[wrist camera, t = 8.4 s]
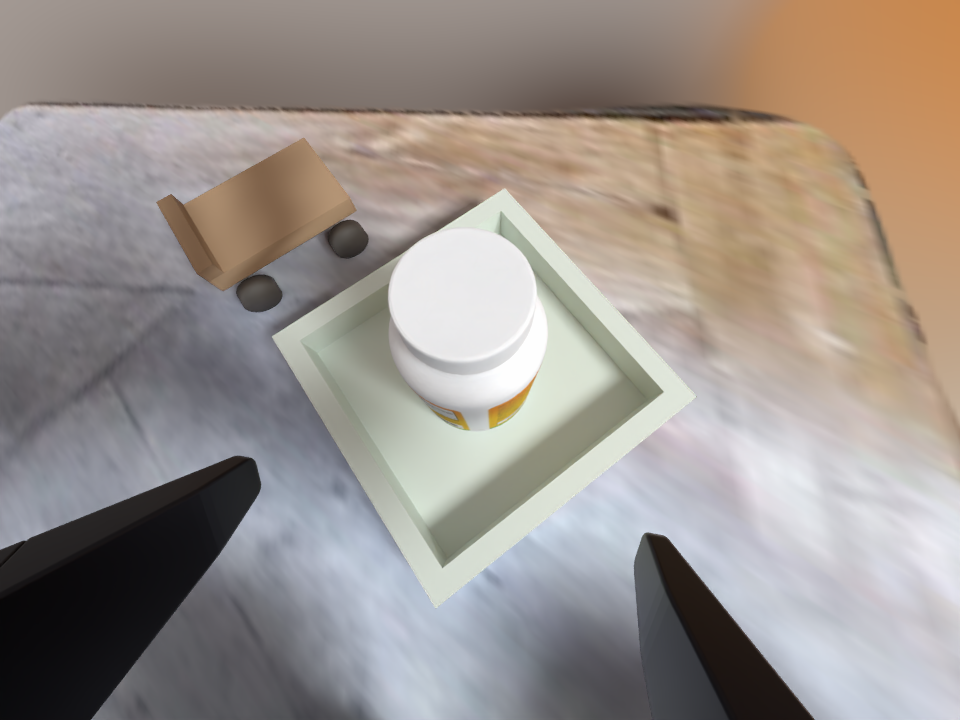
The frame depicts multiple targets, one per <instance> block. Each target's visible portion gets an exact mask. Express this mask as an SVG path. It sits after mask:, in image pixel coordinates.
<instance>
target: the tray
mask: <svg viewBox="0 0 960 720" xmlns="http://www.w3.org/2000/svg"><path fill="white" fill-rule="evenodd" d="M456 227H473V228H479V229H484V230H488V231H491V232H493V233H496V234H498V235H500V236H502V237H504V238H506V239H507V240H508V241H510V242H511V243H512V244H514V245H515V246H516V247H517V248H518V249H519V250H520V251H521V252H522V253H523V255H524V256H525V257H526V259H527V260H528V262H529V264H530V266H531V268H532V271H533V274H534V277H535V281H536V287H537V295H538V297H539V298H540V301H541V303H542V305H543V307H544V310H545V314H546V318H547V324H548V341H547V348H546V352H545V355H544V359H543V362H542V364H541V367H540V369H539V371H538V373H537V376H536V378H535V380H534V382H533V384H532V387H531V389H530V391H529V394H528V396H527V399H526V401H525V402H524V404H523V406H522V407H521V409H520V410H519V411H518V412H517V414H516V415H515V416H513V417H512V418H511V419H510V420H509V421H507V422H506V423H504V424H503V425H501V426H499V427H496V428H494V429H490V430H486V431H478V432H475V431H465V430H461V429H458V428H455V427H453V426H451V425H449V424H447V423H446V422H444V421H443V420H442V419H440V418H439V417H438V416H437V415H436V414H435V413H434V412H433V411H432V410H431V409H430V408H429V407H428V406H427V405H426V404H425V402H424V401H423V400H422V399H421V398H420V397H419V396H418V395H417V394H416V393H415V392H414V391H413V390H412V389H411V388H410V386H409V385H408V384H407V383H406V382H405V380H404V379H403V377H402V375H401V374H400V372H399V370H398V368H397V367H396V364H395V362H394V359H393V357H392V354H391V350H390V345H389V322H390V317H391V315H390V312H389V307H388V288H389V282H390V279H391V276H392V273H393V271H394V268H395V267H396V265H397V263H398V262H399V260H400V259H401V257H402V256H403V255H404V254H405V253H406V252H407V251H405V252H404V253H402V254H401V255H399V256H398V257H396V258H394V259H393V260H391V261H390V262H388V263H387V264H385V265H383V266H382V267H380V268H379V269H377V270H376V271H374V272H372V273H371V274H369V275H368V276H366V277H365V278H363V279H361V280H360V281H358V282H357V283H355V284H353V285H352V286H350V287H349V288H347V289H346V290H344V291H342V292H341V293H339V294H338V295H336V296H335V297H333V298H331V299H330V300H328V301H327V302H325V303H324V304H322V305H320V306H319V307H317V308H316V309H314V310H313V311H311V312H309V313H308V314H306V315H305V316H303V317H302V318H300V319H298V320H297V321H295V322H294V323H292V324H291V325H289V326H287V327H286V328H284V329H283V330H281V331H280V332H278V333H276V334H275V335H273V336H272V338H273V340H274V341H275V343H276V345H277V346H278V348H279V350H280V351H281V353H282V355H283V356H284V358H285V360H286V361H287V363H288V365H289V366H290V368H291V370H292V371H293V373H294V375H295V376H296V378H297V380H298V381H299V383H300V385H301V386H302V388H303V389H304V391H305V393H306V394H307V396H308V398H309V399H310V401H311V403H312V404H313V406H314V408H315V409H316V411H317V413H318V414H319V416H320V418H321V419H322V421H323V423H324V424H325V426H326V428H327V429H328V431H329V433H330V434H331V436H332V438H333V439H334V441H335V443H336V444H337V446H338V448H339V449H340V451H341V452H342V454H343V456H344V457H345V459H346V461H347V462H348V464H349V466H350V467H351V469H352V471H353V472H354V474H355V476H356V477H357V479H358V481H359V482H360V484H361V486H362V487H363V489H364V491H365V492H366V494H367V496H368V497H369V499H370V501H371V502H372V504H373V506H374V507H375V509H376V511H377V512H378V514H379V515H380V517H381V519H382V520H383V522H384V524H385V525H386V527H387V529H388V530H389V532H390V534H391V535H392V537H393V539H394V540H395V542H396V544H397V545H398V547H399V549H400V550H401V552H402V554H403V555H404V557H405V559H406V560H407V562H408V564H409V565H410V567H411V569H412V570H413V572H414V573H415V575H416V577H417V578H418V580H419V582H420V583H421V585H422V587H423V588H424V590H425V592H426V593H427V595H428V597H429V598H430V600H431V602H432V603H433V605H434V607H435V608H437V607H438V606H439V605H441V604H442V603H443V602H444V601H446V600H447V599H448V598H449V597H451V596H452V595H453V594H454V593H456V592H457V591H458V590H459V589H460V588H462V587H463V586H464V585H465V584H467V583H468V582H469V581H470V580H472V579H473V578H474V577H475V576H476V575H478V574H479V573H480V572H481V571H483V570H484V569H485V568H486V567H488V566H489V565H490V564H491V563H493V562H494V561H495V560H496V559H497V558H499V557H500V556H501V555H502V554H504V553H505V552H506V551H507V550H509V549H510V548H511V547H512V546H513V545H515V544H516V543H517V542H518V541H520V540H521V539H522V538H523V537H525V536H526V535H527V534H528V533H530V532H531V531H532V530H533V529H534V528H536V527H537V526H538V525H539V524H541V523H542V522H543V521H544V520H546V519H547V518H548V517H549V516H550V515H552V514H553V513H554V512H555V511H557V510H558V509H559V508H560V507H562V506H563V505H564V504H565V503H567V502H568V501H569V500H570V499H571V498H573V497H574V496H575V495H576V494H578V493H579V492H580V491H581V490H583V489H584V488H585V487H586V486H587V485H589V484H590V483H591V482H592V481H594V480H595V479H596V478H597V477H599V476H600V475H601V474H602V473H604V472H605V471H606V470H607V469H608V468H610V467H611V466H612V465H613V464H615V463H616V462H617V461H618V460H620V459H621V458H622V457H623V456H624V455H626V454H627V453H628V452H629V451H631V450H632V449H633V448H634V447H636V446H637V445H638V444H639V443H641V442H642V441H643V440H644V439H645V438H647V437H648V436H649V435H650V434H652V433H653V432H654V431H655V430H657V429H658V428H659V427H660V426H661V425H663V424H664V423H665V422H666V421H668V420H669V419H670V418H671V417H673V416H674V415H675V414H676V413H677V412H679V411H680V410H681V409H682V408H684V407H685V406H686V405H687V404H689V403H690V402H691V401H692V400H694V399H695V398H696V397H697V396H696V395H695V394H694V393H693V392H692V391H691V390H690V388H689V387H688V386H687V385H686V384H685V383H684V382H683V381H682V380H681V379H680V378H679V377H678V375H677V374H676V373H675V372H674V371H673V370H672V369H671V368H670V367H669V366H668V365H667V364H666V362H665V361H664V360H663V359H662V358H661V357H660V356H659V355H658V354H657V353H656V352H655V351H654V350H653V348H652V347H651V346H650V345H649V344H648V343H647V342H646V341H645V340H644V339H643V338H642V337H641V335H640V334H639V333H638V332H637V331H636V330H635V329H634V328H633V327H632V326H631V325H630V324H629V322H628V321H627V320H626V319H625V318H624V317H623V316H622V315H621V314H620V313H619V312H618V311H617V309H616V308H615V307H614V306H613V305H612V304H611V303H610V302H609V301H608V300H607V299H606V298H605V296H604V295H603V294H602V293H601V292H600V291H599V290H598V289H597V288H596V287H595V286H594V285H593V283H592V282H591V281H590V280H589V279H588V278H587V277H586V276H585V275H584V274H583V273H582V272H581V270H580V269H579V268H578V267H577V266H576V265H575V264H574V263H573V262H572V261H571V260H570V259H569V257H568V256H567V255H566V254H565V253H564V252H563V251H562V250H561V249H560V248H559V247H558V246H557V244H556V243H555V242H554V241H553V240H552V239H551V238H550V237H549V236H548V235H547V234H546V233H545V232H544V230H543V229H542V228H541V227H540V226H539V225H538V224H537V223H536V222H535V221H534V220H533V219H532V217H531V216H530V215H529V214H528V213H527V212H526V211H525V210H524V209H523V208H522V207H521V206H520V204H519V203H518V202H517V201H516V200H515V199H514V198H513V197H512V196H511V195H510V194H509V193H508V191H507V190H506V189H503V190H501V191H500V192H498V193H497V194H495V195H494V196H492V197H490V198H489V199H487V200H486V201H484V202H482V203H481V204H479V205H478V206H476V207H475V208H473V209H471V210H470V211H468V212H467V213H465V214H464V215H462V216H460V217H459V218H457V219H456V220H454V221H453V222H451V223H449V224H448V225H446V226H445V227H443V228H442V229H440V230H438V231H441V230H445V229H450V228H456ZM438 231H437V232H438Z"/></svg>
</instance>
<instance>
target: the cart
mask: <svg viewBox="0 0 960 720" xmlns="http://www.w3.org/2000/svg"><path fill="white" fill-rule="evenodd" d="M156 203H157V205H158V206H159V208H160V210H161V212H162V213H163V215H164V217H165V219H166V220H167V222H168V224H169V226H170V227H171V229H172V231H173V233H174V234H175V236H176V238H177V240H178V241H179V243H180V245H181V247H182V248H183V250H184V252H185V254H186V255H187V257H188V259H189V261H190V262H191V264H192V266H193V268H194V269H195V271H196V273H197V274H198V275H200V276H201V277H203V278H204V279H206V280H207V281H208V282H210V283H211V284H213V285H214V286H216V287H217V288H219V289H220V290H222V291H224V290H226V289H228V288H229V287H231V286H233V285H234V284H236V283H238V282H239V281H241V280H243V279H244V278H246V277H248V276H249V275H251V274H253V273H254V272H256V271H258V270H259V269H261V268H263V267H264V266H266V265H268V264H269V263H271V262H273V261H274V260H276V259H278V258H279V257H281V256H282V255H284V254H286V253H287V252H289V251H291V250H292V249H294V248H296V247H297V246H299V245H301V244H302V243H304V242H306V241H307V240H309V239H311V238H312V237H314V236H316V235H317V234H319V233H321V232H322V231H324V230H326V229H327V228H329V227H331V226H332V225H334V224H336V223H337V222H339V221H340V220H342V219H344V218H345V217H347V216H349V215H350V214H352V213H354V212H355V211H357V210H356V208H355V206H354V204H353V203H352V201H351V199H350V197H349V196H348V194H347V193H346V192H345V191H344V189H343V188H342V187H341V185H340V184H339V183H338V181H337V180H336V179H335V177H334V176H333V175H332V174H331V172H330V171H329V170H328V168H327V167H326V166H325V164H324V163H323V162H322V160H321V159H320V158H319V156H318V155H317V154H316V153H315V151H314V150H313V149H312V147H311V146H310V145H309V143H308V142H307V141H306V139H305V138H302V139H301V140H299V141H297V142H295V143H294V144H292V145H290V146H288V147H286V148H285V149H283V150H281V151H279V152H277V153H276V154H274V155H272V156H270V157H268V158H267V159H265V160H263V161H261V162H259V163H258V164H256V165H254V166H252V167H250V168H249V169H247V170H245V171H243V172H241V173H240V174H238V175H236V176H234V177H233V178H231V179H229V180H227V181H225V182H224V183H222V184H220V185H218V186H216V187H215V188H213V189H211V190H209V191H207V192H206V193H204V194H202V195H200V196H198V197H197V198H195V199H193V200H191V201H189V202H188V203H186V204H184V205H183V204H182V203H181V202H180V201H178V200H177V199H176V198H175V197H174V196H173V195H172V194H170V195H168V196H167V197H165V198H163V199H161V200H159V201H158V202H156ZM368 240H369V239H368V235H367V233H366V232H365V231H364V229H363V228H362V227H361V225H360V224H359V223H358V222H356V221H354V220H346V221H342V222H340V223H338V224H337V225H335V226H334V227H333V228H332V230H331V231H330V233H329V236H328V241H329V243H330V245H331V246H332V248H333V249H334V250H335V252H336V253H337V254H338V255H339V256H340V257H343V258H350V257H354V256H356V255H358V254H359V253H361V252H362V251H363V250H364V249H365V248H366V246H367V244H368ZM236 293H237V296H238V298H239V299H240V301H241V303H242V304H243V306H244V308H245V309H247V310H248V311H251V312H262V311H266V310H269V309H271V308H273V307H274V306H276V305H277V304H278V303H279V302H280V301H281V299H282V291H281V290H280V288H279V287H278V285H277V283H276V282H275V280H274V279H273V278H271V277H269V276H266V275H257V276H252V277H250V278H247V279H246V280H244V281H243V282H241V283H240V284H239V286H238V288H237V291H236Z"/></svg>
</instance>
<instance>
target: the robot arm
mask: <svg viewBox="0 0 960 720" xmlns="http://www.w3.org/2000/svg"><path fill="white" fill-rule="evenodd" d="M260 489H261V481H260V477H259V473H258V469H257V465H256V462H255V460H254V459H252V458H249V457H244V456H234V457H231V458H228V459H226V460H224V461H221V462H219V463H216V464H214V465H211V466H209V467H206V468H204V469H201V470H199V471H196V472H194V473H191V474H189V475H186V476H184V477H181V478H179V479H176V480H174V481H171V482H169V483H166V484H164V485H161V486H159V487H156V488H154V489H151V490H149V491H146V492H144V493H141V494H139V495H136V496H134V497H131V498H129V499H126V500H124V501H121V502H119V503H116V504H114V505H111V506H109V507H106V508H104V509H101V510H99V511H96V512H94V513H91V514H89V515H86V516H84V517H81V518H79V519H76V520H74V521H71V522H69V523H66V524H64V525H61V526H59V527H56V528H54V529H51V530H49V531H46V532H44V533H41V534H39V535H36V536H34V537H31V538H29V539H28V540H27V541H21V542H19V543H16V544H14V545H11V546H9V547H6V548H4V549H1V550H0V720H91V719H92V718H93V716H94V715H95V714H96V712H97V711H98V710H99V709H100V707H101V706H102V705H103V703H104V702H105V701H106V700H107V698H108V697H109V696H110V694H111V693H112V692H113V691H114V689H115V688H116V687H117V685H118V684H119V683H120V682H121V680H122V679H123V678H124V676H125V675H126V674H127V673H128V671H129V670H130V669H131V667H132V666H133V665H134V664H135V662H136V661H137V660H138V658H139V657H140V656H141V655H142V653H143V652H144V651H145V649H146V648H147V647H148V646H149V644H150V643H151V642H152V640H153V639H154V638H155V637H156V635H157V634H158V633H159V631H160V630H161V629H162V628H163V626H164V625H165V624H166V622H167V621H168V620H169V619H170V617H171V616H172V615H173V613H174V612H175V611H176V610H177V608H178V607H179V606H180V604H181V603H182V602H183V601H184V599H185V598H186V597H187V595H188V594H189V593H190V592H191V590H192V589H193V588H194V586H195V585H196V584H197V583H198V581H199V580H200V579H201V577H202V576H203V575H204V574H205V572H206V571H207V570H208V568H209V567H210V566H211V565H212V563H213V562H214V561H215V559H216V558H217V557H218V555H219V554H220V552H221V551H222V549H223V548H224V547H225V545H226V544H227V542H228V541H229V539H230V538H231V536H232V534H233V533H234V531H235V530H236V528H237V527H238V525H239V524H240V522H241V521H242V519H243V518H244V516H245V514H246V513H247V511H248V510H249V508H250V507H251V505H252V504H253V502H254V501H255V499H256V498H257V496H258V494H259V492H260ZM634 577H635V590H636V602H637V615H638V628H639V640H640V651H641V658H642V664H643V670H644V676H645V681H646V687H647V692H648V698H649V703H650V709H651V714H652V720H815V719H814V718H813V717H812V716H811V714H810V713H809V712H808V711H807V709H806V708H805V707H804V706H803V704H802V703H801V702H800V701H799V700H798V698H797V697H796V696H795V695H794V693H793V692H792V691H791V690H790V688H789V687H788V686H787V685H786V683H785V682H784V681H783V680H782V679H781V677H780V676H779V675H778V674H777V672H776V671H775V670H774V669H773V667H772V666H771V665H770V664H769V663H768V661H767V660H766V659H765V658H764V656H763V655H762V654H761V653H760V651H759V650H758V649H757V648H756V646H755V645H754V644H753V643H752V642H751V640H750V639H749V638H748V637H747V635H746V634H745V633H744V632H743V630H742V629H741V628H740V627H739V625H738V624H737V623H736V622H735V621H734V619H733V618H732V617H731V616H730V614H729V613H728V612H727V611H726V609H725V608H724V607H723V606H722V604H721V603H720V602H719V601H718V600H717V598H716V597H715V596H714V595H713V593H712V592H711V591H710V590H709V588H708V587H707V586H706V585H705V583H704V582H703V581H702V580H701V579H700V577H699V576H698V575H697V574H696V572H695V571H694V570H693V569H692V567H691V566H690V565H689V564H688V562H687V561H686V560H685V559H684V558H683V556H682V555H681V554H680V553H679V551H678V550H677V549H676V548H675V546H674V545H673V544H672V543H671V541H670V540H669V539H668V538H667V537H665V536H663V535H658V534H653V533H644V535H643V536H642V539H641V542H640V545H639V548H638V551H637V554H636V557H635V562H634Z"/></svg>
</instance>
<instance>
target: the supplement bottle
mask: <svg viewBox="0 0 960 720" xmlns="http://www.w3.org/2000/svg"><path fill="white" fill-rule="evenodd" d="M388 307H389V312H390V315H391V317H390V322H389V345H390V350H391V354H392V357H393V359H394V362H395V364H396V367H397V368H398V370H399V372H400V374H401V375H402V377H403V379H404V380H405V382H406V383H407V384H408V385H409V386H410V388H411V389H412V390H413V391H414V392H415V393H416V394H417V395H418V396H419V397H420V398H421V399H422V400H423V401H424V402H425V404H426V405H427V406H428V407H429V408H430V409H431V410H432V411H433V412H434V413H435V414H436V415H437V416H438V417H439V418H440V419H442V420H443V421H444V422H446V423H447V424H449V425H451V426H453V427H455V428H458V429H461V430H465V431H475V432H478V431H486V430H490V429H494V428H496V427H499V426H501V425H503V424H504V423H506V422H507V421H509V420H510V419H511V418H512V417H513V416H515V415H516V414H517V412H518V411H519V410H520V409H521V407H522V406H523V404H524V402H525V401H526V399H527V396H528V394H529V391H530V389H531V387H532V384H533V382H534V380H535V378H536V376H537V373H538V371H539V369H540V367H541V364H542V362H543V359H544V355H545V352H546V348H547V341H548V324H547V318H546V314H545V310H544V307H543V305H542V303H541V301H540V298H539V297H538V295H537V287H536V281H535V277H534V274H533V271H532V268H531V266H530V264H529V262H528V260H527V259H526V257H525V256H524V255H523V253H522V252H521V251H520V250H519V249H518V248H517V247H516V246H515V245H514V244H512V243H511V242H510V241H508V240H507V239H506V238H504V237H502V236H500V235H498V234H496V233H493V232H491V231H488V230H484V229H479V228H473V227H456V228H450V229H445V230H441V231H438V232H435V233H433V234H431V235H428V236H426V237H424V238H423V239H421V240H420V241H418V242H417V243H415V244H414V245H413V246H412V247H410V248H409V249H408V250H407V252H406V253H405V254H404V255H403V256H402V257H401V259H400V260H399V262H398V263H397V265H396V267H395V268H394V271H393V273H392V276H391V279H390V282H389V288H388Z"/></svg>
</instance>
